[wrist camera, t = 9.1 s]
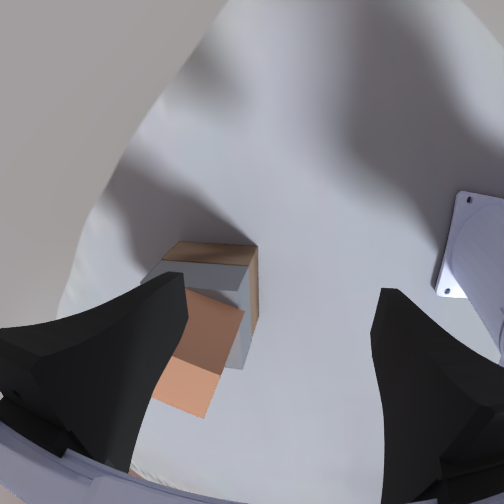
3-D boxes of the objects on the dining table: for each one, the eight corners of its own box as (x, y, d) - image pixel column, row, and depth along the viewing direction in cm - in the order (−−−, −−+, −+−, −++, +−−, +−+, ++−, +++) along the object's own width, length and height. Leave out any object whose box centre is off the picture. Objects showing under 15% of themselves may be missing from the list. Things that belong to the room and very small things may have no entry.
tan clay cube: (245, 311, 17) (221, 375, 13) (227, 357, 19) (203, 418, 15) (178, 285, 17) (137, 340, 13) (169, 334, 19) (134, 388, 15)
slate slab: (248, 266, 19) (237, 291, 17) (251, 340, 22) (242, 369, 19) (161, 260, 21) (140, 282, 18) (174, 330, 23) (159, 356, 20)
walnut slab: (257, 246, 22) (249, 265, 19) (258, 316, 25) (251, 340, 22) (179, 241, 23) (161, 258, 20) (188, 308, 26) (174, 329, 23)
